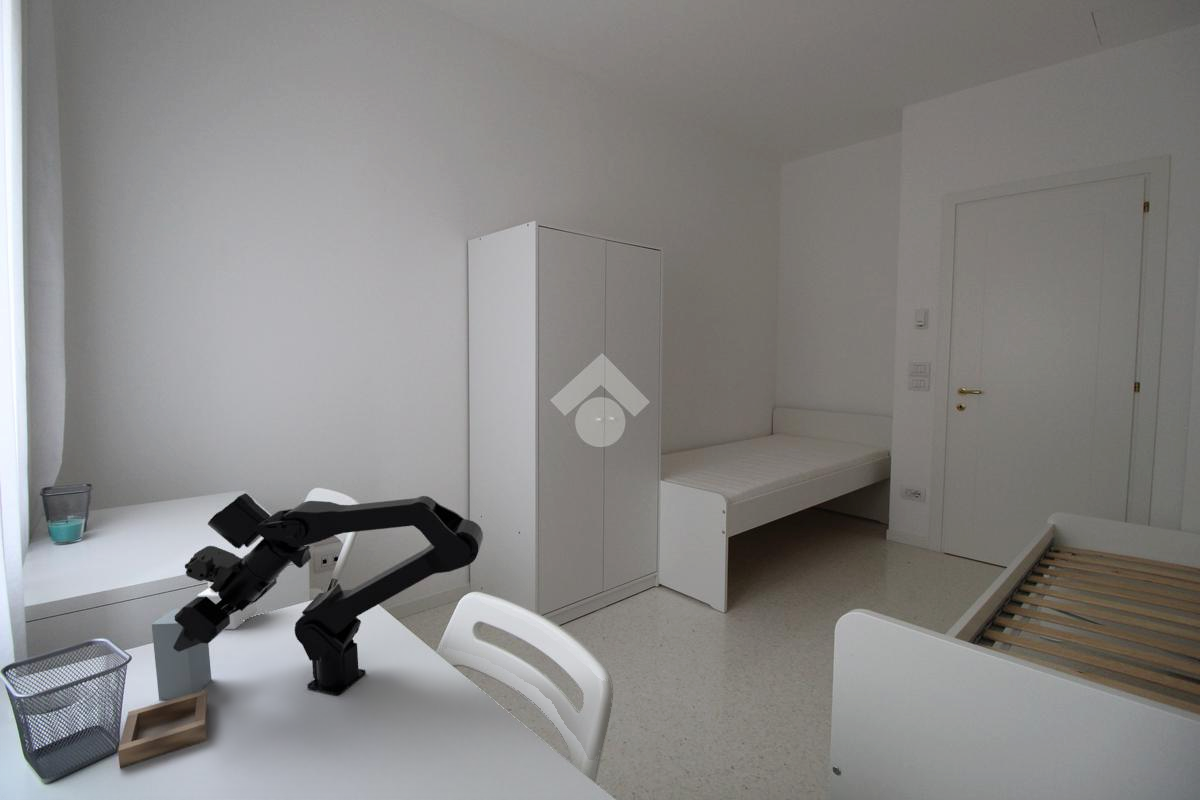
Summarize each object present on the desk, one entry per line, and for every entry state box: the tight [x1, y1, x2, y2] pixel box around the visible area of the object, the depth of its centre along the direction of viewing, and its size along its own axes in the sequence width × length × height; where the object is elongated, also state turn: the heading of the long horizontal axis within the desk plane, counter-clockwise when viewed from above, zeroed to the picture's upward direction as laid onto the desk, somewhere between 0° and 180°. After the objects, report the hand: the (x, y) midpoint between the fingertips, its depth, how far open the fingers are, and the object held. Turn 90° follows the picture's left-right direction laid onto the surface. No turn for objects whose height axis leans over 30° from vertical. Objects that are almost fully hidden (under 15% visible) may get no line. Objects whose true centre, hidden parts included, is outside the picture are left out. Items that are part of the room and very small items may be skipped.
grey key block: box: [151, 608, 212, 701], centre depth 91 cm, size 5×5×12 cm
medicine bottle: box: [196, 581, 258, 630], centre depth 113 cm, size 7×7×12 cm
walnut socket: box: [117, 689, 209, 769], centre depth 81 cm, size 9×9×2 cm
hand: (195, 633), depth 91 cm, fingers open, 9 cm apart
